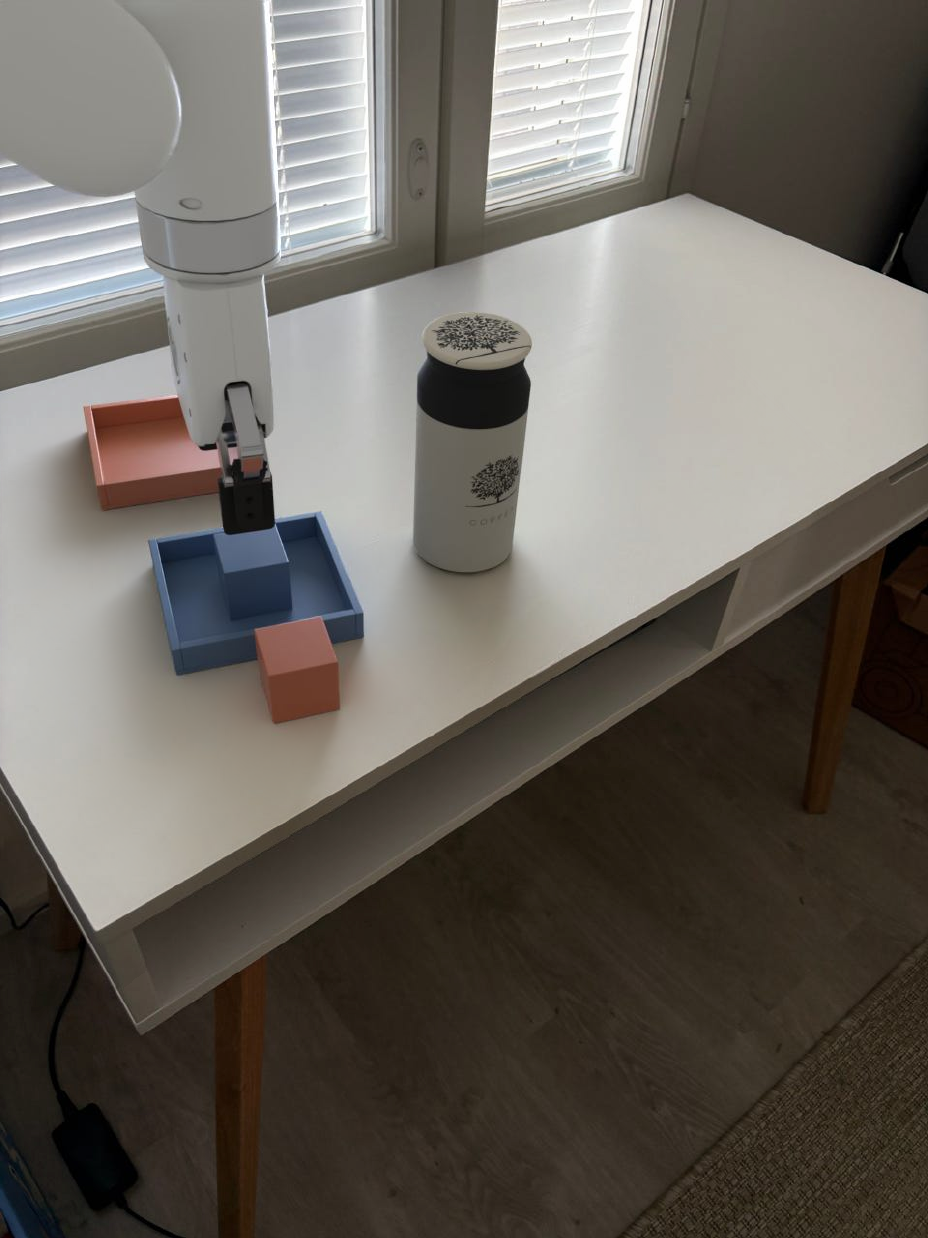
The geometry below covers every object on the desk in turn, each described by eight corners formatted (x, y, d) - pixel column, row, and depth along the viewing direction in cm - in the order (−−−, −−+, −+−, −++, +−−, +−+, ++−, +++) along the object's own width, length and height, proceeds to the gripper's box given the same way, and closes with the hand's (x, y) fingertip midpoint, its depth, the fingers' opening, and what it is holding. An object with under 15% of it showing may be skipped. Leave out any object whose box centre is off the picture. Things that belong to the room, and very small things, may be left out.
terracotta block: (273, 724, 66) (268, 676, 63) (259, 676, 69) (253, 628, 66) (340, 709, 67) (338, 662, 64) (324, 662, 70) (321, 615, 67)
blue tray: (176, 676, 69) (171, 650, 67) (152, 564, 77) (147, 539, 75) (364, 637, 72) (363, 612, 71) (322, 534, 80) (321, 510, 79)
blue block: (230, 621, 72) (224, 573, 69) (219, 581, 75) (212, 534, 72) (292, 609, 73) (289, 562, 70) (279, 570, 76) (275, 523, 73)
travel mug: (400, 521, 82) (403, 315, 70) (491, 506, 84) (510, 303, 72) (430, 583, 77) (439, 372, 65) (527, 565, 79) (554, 357, 67)
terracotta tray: (101, 510, 81) (96, 486, 80) (88, 429, 89) (83, 406, 88) (265, 484, 85) (263, 461, 83) (238, 409, 93) (235, 386, 91)
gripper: (123, 176, 60) (159, 424, 72) (162, 304, 49) (198, 576, 60) (248, 171, 63) (264, 412, 74) (315, 292, 51) (322, 556, 62)
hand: (235, 485), depth 67 cm, fingers open, 9 cm apart
